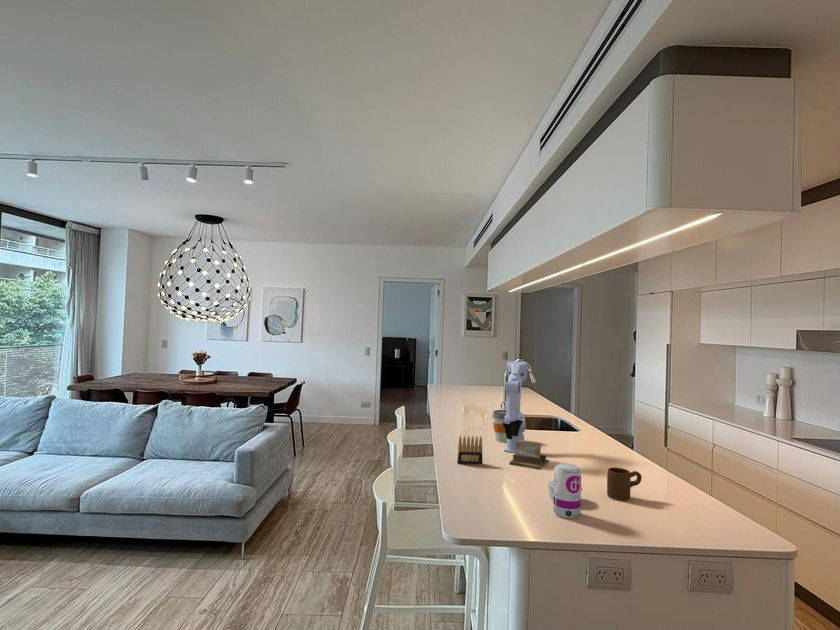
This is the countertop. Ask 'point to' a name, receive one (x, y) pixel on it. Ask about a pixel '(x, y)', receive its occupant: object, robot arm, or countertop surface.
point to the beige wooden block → (528, 448)
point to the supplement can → (567, 490)
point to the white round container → (551, 489)
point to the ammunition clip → (470, 451)
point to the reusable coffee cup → (499, 425)
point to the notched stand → (529, 461)
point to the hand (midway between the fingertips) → (512, 437)
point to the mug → (621, 483)
